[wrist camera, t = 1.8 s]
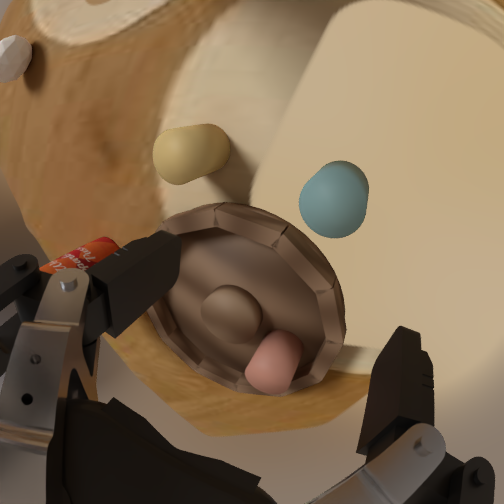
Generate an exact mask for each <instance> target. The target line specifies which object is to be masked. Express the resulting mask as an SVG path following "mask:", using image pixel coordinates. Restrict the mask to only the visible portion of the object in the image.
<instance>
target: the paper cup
mask: <svg viewBox="0 0 504 504" xmlns="http://www.w3.org/2000/svg"><path fill="white" fill-rule="evenodd" d="M118 249H120V248H119V247H118V246H117V244H116V243H115V242H114V241H113V240H111V239H110V238H107V237H102V238H99V239H97V240H94V241H92V242H90V243H88V244H86V245H84V246H82V247H79V248H77V249H75V250H73V251H71V252H69V253H67V254H65V255H63V256H61V257H59V258H58V259H56V260H54V261H52V262H50V263H48V264H46V265H44V266H42V267H40V268H39V269H40V271H43V272H47V273H50V274H55V273H56V272H58V271H60V270H62V269H66V268H77V269H81V270H83V271H85V270H87V269H88V268H90V267H91V266H93V265H95V264H96V263H98V262H99V261H101V260H102V259H104V258H106V257H107V256H109V255H110V254H112V253H113V254H114V252H115V251H117V250H118Z"/></svg>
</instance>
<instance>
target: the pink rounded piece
mask: <svg viewBox="0 0 504 504" xmlns="http://www.w3.org/2000/svg"><path fill="white" fill-rule="evenodd" d="M303 351H304V347H303V344H302V342H301V340H300V339H299V338H298V337H297V336H296V335H295V334H293V333H291V332H289V331H286V330H281V329H276V330H272V331H269V332H268V333H267V334H266V335H265V337H264V338H263V340H262V342H261V344H260V345H259V347H258V349H257V351H256V352H255V354H254V356H253V357H252V359H251V361H250V363H249V364H248V366H247V368H246V370H245V376H246V379H247V380H248V382H249V383H250V384H251V385H252V386H253V387H254V388H256V389H258V390H259V391H262V392H264V393H267V394H282V393H284V392H286V391H287V390H288V388H289V386H290V383H291V381H292V379H293V376H294V374H295V371H296V369H297V366H298V364H299V362H300V359H301V357H302V354H303Z"/></svg>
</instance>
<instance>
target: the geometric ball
mask: <svg viewBox="0 0 504 504" xmlns="http://www.w3.org/2000/svg"><path fill="white" fill-rule="evenodd" d="M31 59H32V46H31V44H30V43H29V42H28V41H27V39H26V38H24V37H21V36H18V35H14V36H10V37H7V38H4V39H3V40H1V41H0V82H3V83H6V82H10V81H13V80H17V79H18V78H19V77H20V76H21V75H22V74H23V73H24V72H25V71H26V69H27V67H28V65H29V63H30V61H31Z"/></svg>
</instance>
